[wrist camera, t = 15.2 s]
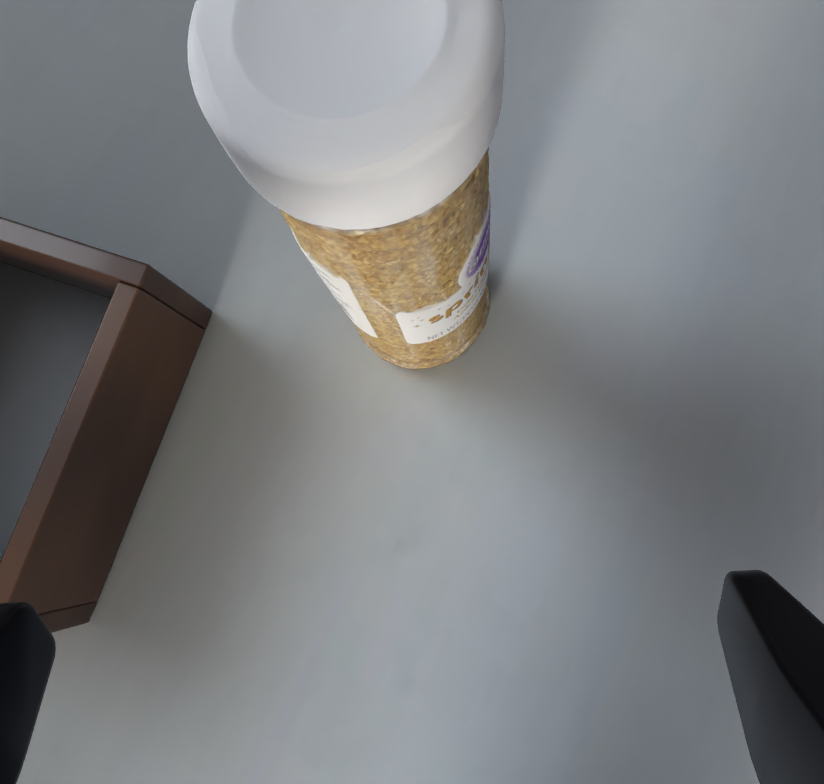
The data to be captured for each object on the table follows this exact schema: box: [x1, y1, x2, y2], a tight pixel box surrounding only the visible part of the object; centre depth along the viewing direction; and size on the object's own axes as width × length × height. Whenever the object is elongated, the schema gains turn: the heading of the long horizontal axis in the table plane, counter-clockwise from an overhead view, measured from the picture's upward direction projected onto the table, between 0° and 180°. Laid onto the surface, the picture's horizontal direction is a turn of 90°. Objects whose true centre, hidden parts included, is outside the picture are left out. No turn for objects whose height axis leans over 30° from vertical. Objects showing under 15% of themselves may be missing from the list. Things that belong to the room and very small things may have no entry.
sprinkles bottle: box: [187, 0, 505, 369], centre depth 16 cm, size 5×5×13 cm
